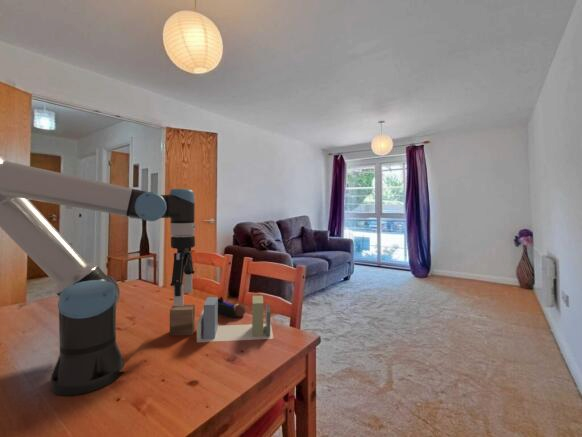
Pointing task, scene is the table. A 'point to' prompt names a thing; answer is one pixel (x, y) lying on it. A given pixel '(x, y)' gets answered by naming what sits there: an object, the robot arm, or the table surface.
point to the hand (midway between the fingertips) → (183, 298)
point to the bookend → (267, 319)
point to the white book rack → (230, 332)
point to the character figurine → (230, 309)
